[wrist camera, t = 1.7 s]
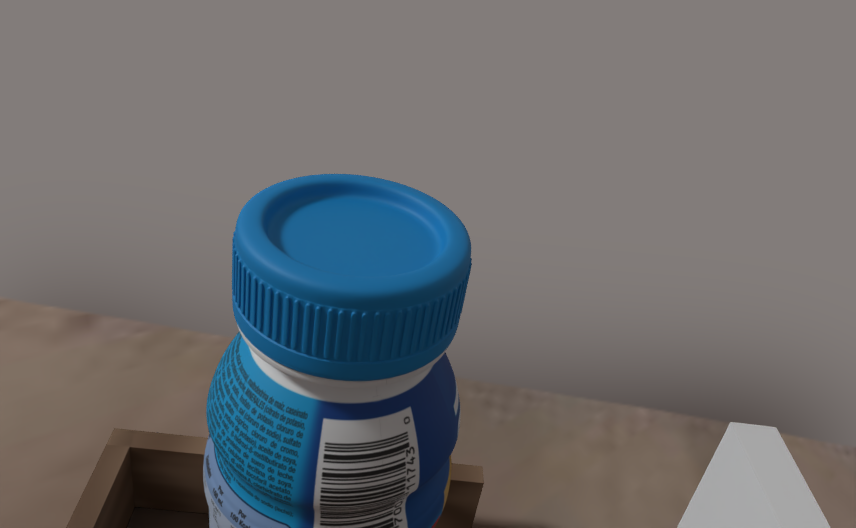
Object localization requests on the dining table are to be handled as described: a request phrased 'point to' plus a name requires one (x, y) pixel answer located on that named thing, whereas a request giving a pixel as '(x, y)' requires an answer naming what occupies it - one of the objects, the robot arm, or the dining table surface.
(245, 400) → the beverage bottle
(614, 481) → the dining table surface
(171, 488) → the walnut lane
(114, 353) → the dining table surface
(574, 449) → the dining table surface
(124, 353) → the dining table surface
